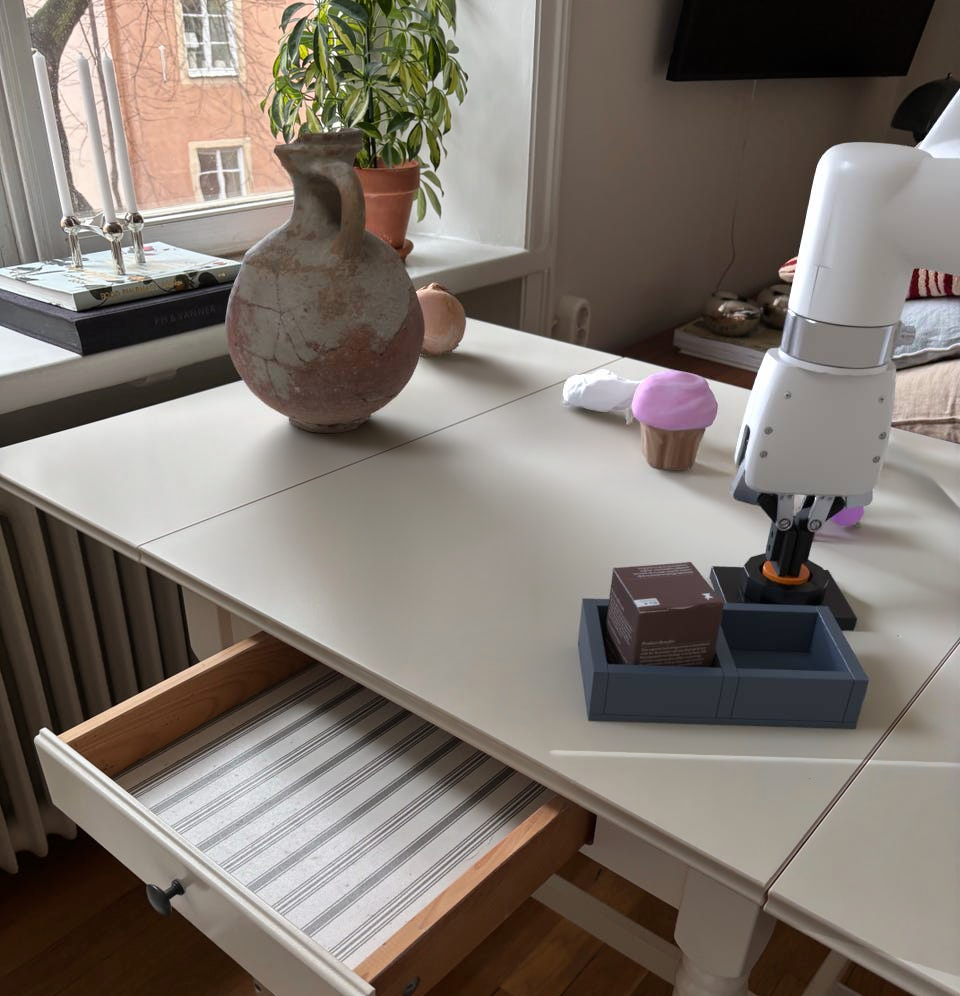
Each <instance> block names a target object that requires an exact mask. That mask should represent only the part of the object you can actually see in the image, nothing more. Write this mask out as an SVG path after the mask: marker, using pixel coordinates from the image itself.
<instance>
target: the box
mask: <svg viewBox="0 0 960 996" xmlns="http://www.w3.org/2000/svg"><path fill="white" fill-rule="evenodd" d="M608 597H609V598H608V599H609V607H608V614H607V622H606V630H605V639H604V648H605V654H606V660H607V662H608V664H619V665H650V666H681V667H712V666H713V661H714V655H715V649H716V644H717V638H718V633H719V628H720V624H721V619H722V611H723V606H724V603H723V601H722V600H721V599H720V597H719V596H718V595H717V594H716V593H715V591H714V588H713V587H711V585H710V584H709V582H708V581H707V580H706V579H705V577H704V576H703V575H702V574H701V572H700V571H699V570H698V569H697V568H696V566H695V565H694V564H693V563H692V562H691V561H686V562H675V563H663V564H662V563H661V564H650V565H649V564H648V565H635V566H622V567H621V566H620V567H613V568H612V574H611V582H610V590H609V596H608Z"/></svg>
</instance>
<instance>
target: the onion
mask: <svg viewBox="0 0 960 996" xmlns="http://www.w3.org/2000/svg"><path fill="white" fill-rule="evenodd" d="M415 290H416V289H415ZM416 293H417V296H418V299H419V302H420V305H421V308H422V312H423V317H424V324H425V334H424V342H423V346H422V351H421V354H420V356H423V357H425V358H429V356H430V357H437V356H443V357H445V354H446V353H447V354H448V355H450V354H453V351H454V350H457V348H458V347H459V346H460V342H462V340H463V338H464V335H465V332H466V329H467V328H466V327H467V319H466V313H465V309H464V307H463V305H462V303H461V302H460V301H459V300H458V299H457V297H455V296H454V295H453V294H452V293H451V292H450V291H449V289H448V288H446V287H445V286H444V285H442V284H441V283H438V282H432V283H431V284H430V285H429V284H427V285H424V287H421V288H419V289H417V290H416Z"/></svg>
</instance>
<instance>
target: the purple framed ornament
mask: <svg viewBox="0 0 960 996" xmlns="http://www.w3.org/2000/svg"><path fill="white" fill-rule="evenodd" d="M864 512H865V511H864V506H862V507H856V508H850V509H842V510H841V511H840V512H838V513H837V514H836V515H834V516H833V517H831V518H830V519H829V520H830V521H831V522H832V523H833V524H835V525H837V526H839V527H850V526H855V527H856V526H857V528H860V527H863V523H862V522H861V519H862V518H863V515H864Z"/></svg>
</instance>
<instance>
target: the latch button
mask: <svg viewBox="0 0 960 996" xmlns="http://www.w3.org/2000/svg"><path fill="white" fill-rule="evenodd" d="M762 575H764V576H766V577H767V578H769V579H770V580H772V581H775V582H779V583H783V584H796V585H800V584H804V583H807V582H808V578H809V570H808V568H807V567H806V566H804V565H803V564H802V566H801V570H800V574H799V576H798V577H791V576H790V575H788V574H787V575H785V576H777V574H776V572H775V570H774V568H773V566H772V564H771V562H770V561H767V562H766V563H765V564H764V567H763V571H762Z"/></svg>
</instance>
